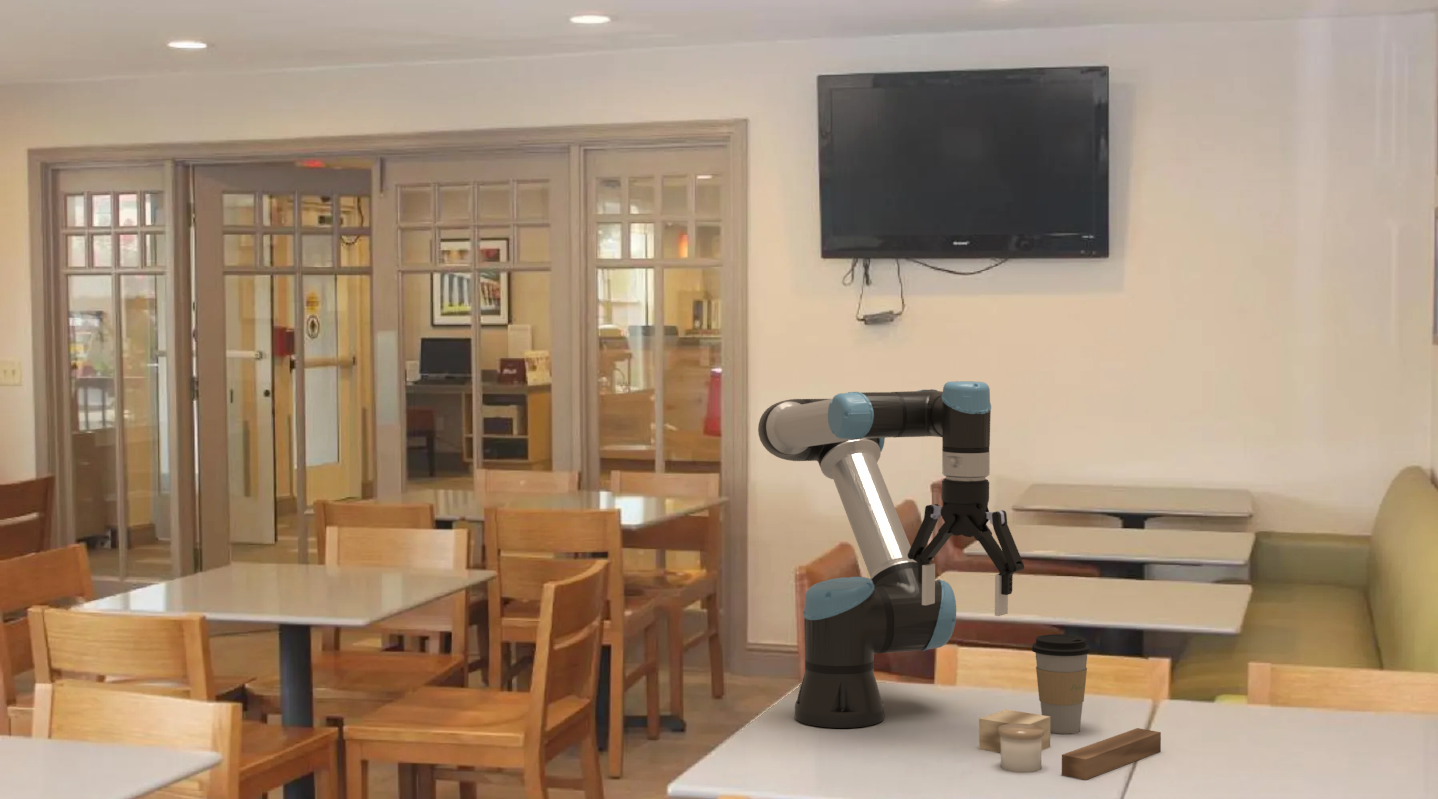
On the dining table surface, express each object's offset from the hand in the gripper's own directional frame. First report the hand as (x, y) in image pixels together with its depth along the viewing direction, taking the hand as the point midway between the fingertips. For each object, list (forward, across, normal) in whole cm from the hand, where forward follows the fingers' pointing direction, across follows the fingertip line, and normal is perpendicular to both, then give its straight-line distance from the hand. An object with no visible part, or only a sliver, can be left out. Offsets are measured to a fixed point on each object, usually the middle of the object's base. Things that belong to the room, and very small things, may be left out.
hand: (964, 609), depth 260 cm
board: (+20, +27, -1) cm, 33 cm away
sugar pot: (+20, +17, -11) cm, 29 cm away
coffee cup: (+21, +10, +13) cm, 27 cm away
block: (+20, +11, -2) cm, 23 cm away
